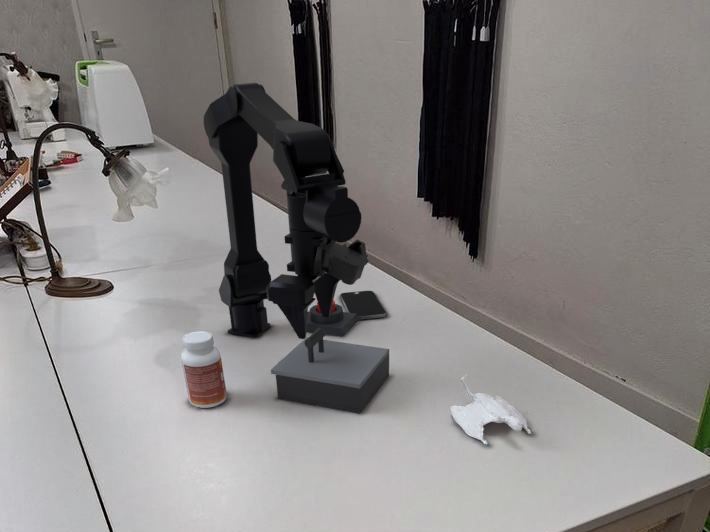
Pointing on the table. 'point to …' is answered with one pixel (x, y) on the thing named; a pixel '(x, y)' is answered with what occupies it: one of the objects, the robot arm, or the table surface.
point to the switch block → (331, 321)
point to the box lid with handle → (331, 361)
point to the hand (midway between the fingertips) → (314, 327)
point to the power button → (331, 308)
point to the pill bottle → (203, 370)
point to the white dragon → (486, 414)
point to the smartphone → (363, 304)
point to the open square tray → (333, 391)
